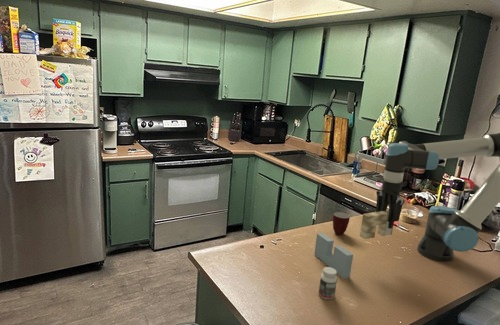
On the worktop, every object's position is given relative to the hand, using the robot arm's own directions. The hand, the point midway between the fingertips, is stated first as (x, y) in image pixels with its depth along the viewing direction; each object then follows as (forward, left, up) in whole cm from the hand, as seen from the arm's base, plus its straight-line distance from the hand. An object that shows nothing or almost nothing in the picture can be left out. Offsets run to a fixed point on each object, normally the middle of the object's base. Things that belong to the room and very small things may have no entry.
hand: (384, 232), depth 150 cm
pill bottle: (+7, +40, -14) cm, 43 cm away
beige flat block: (+2, +4, -1) cm, 5 cm away
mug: (+24, -13, -13) cm, 30 cm away
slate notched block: (+15, +19, -13) cm, 27 cm away
